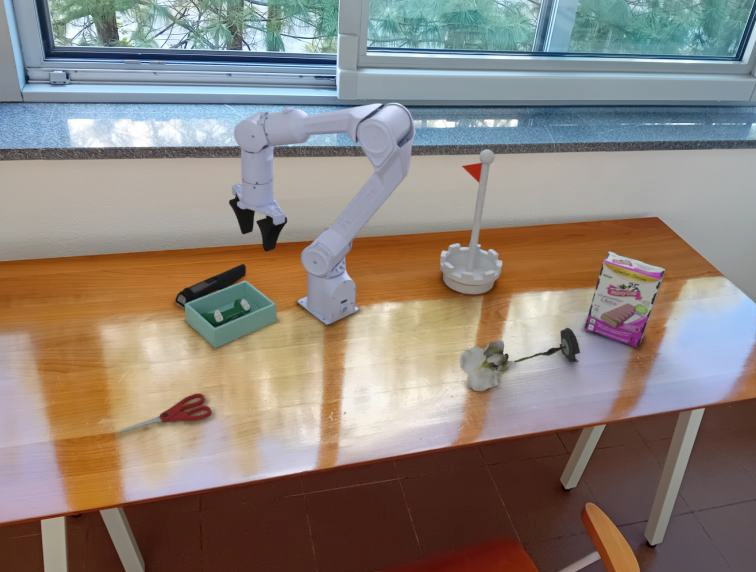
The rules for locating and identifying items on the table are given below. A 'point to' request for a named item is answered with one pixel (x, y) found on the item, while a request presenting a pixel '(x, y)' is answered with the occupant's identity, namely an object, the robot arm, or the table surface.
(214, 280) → the electric trimmer
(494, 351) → the artificial flower
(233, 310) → the gaming controller
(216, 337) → the tub
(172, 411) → the scissors
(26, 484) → the table surface
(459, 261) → the flag stand
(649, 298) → the candy bar box
